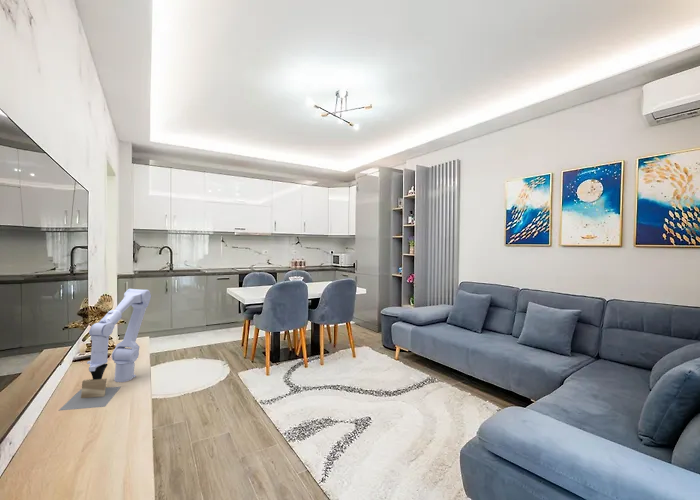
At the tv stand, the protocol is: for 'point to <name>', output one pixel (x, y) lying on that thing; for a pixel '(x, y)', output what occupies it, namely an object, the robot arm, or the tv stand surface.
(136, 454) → the tv stand surface
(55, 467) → the tv stand surface
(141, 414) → the tv stand surface
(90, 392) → the tile
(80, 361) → the tv stand surface
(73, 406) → the mat
